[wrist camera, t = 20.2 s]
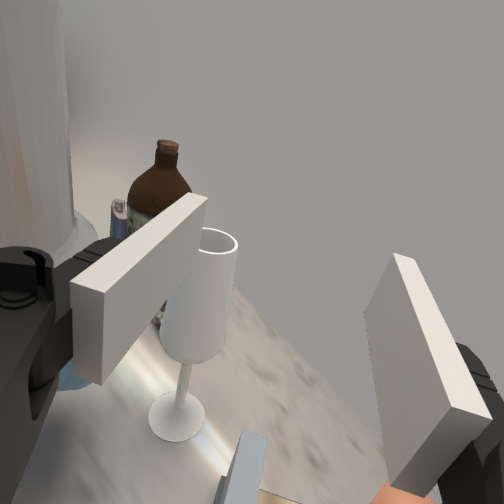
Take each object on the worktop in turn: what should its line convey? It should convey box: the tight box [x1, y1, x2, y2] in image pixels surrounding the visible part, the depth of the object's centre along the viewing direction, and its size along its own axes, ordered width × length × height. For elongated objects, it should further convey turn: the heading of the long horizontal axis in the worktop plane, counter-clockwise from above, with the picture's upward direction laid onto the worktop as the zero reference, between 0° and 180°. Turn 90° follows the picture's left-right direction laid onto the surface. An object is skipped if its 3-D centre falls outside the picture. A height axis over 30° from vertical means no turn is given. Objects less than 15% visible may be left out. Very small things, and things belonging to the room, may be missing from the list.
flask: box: [110, 198, 127, 240], centre depth 67 cm, size 9×3×11 cm, turn 24°
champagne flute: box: [148, 228, 238, 442], centre depth 35 cm, size 7×7×24 cm
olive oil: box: [127, 140, 192, 238], centre depth 58 cm, size 11×11×25 cm
